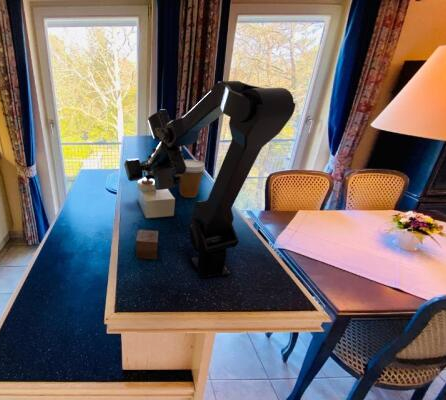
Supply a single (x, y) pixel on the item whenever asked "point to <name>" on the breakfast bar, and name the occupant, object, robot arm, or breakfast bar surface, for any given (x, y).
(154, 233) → the brown cube
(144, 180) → the release button
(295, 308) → the breakfast bar surface
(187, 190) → the disposable coffee cup
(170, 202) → the white box
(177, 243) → the breakfast bar surface
